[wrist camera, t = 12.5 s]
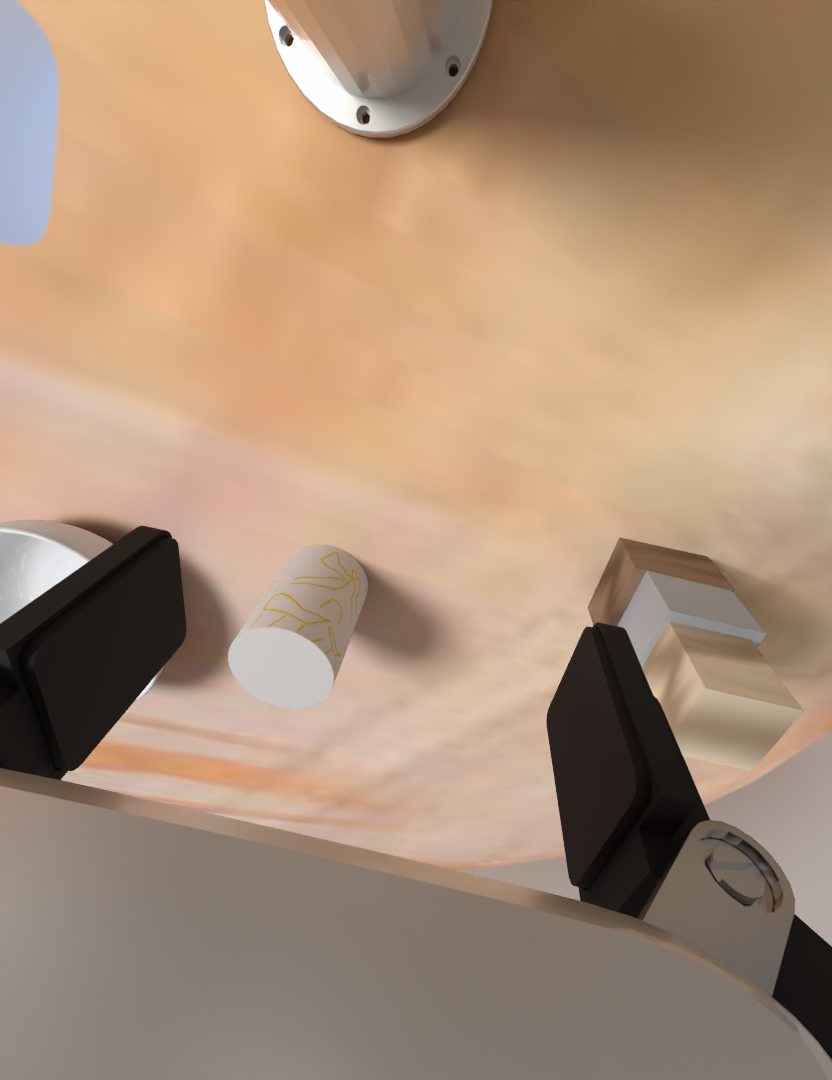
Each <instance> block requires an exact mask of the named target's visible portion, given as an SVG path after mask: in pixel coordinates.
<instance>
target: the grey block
mask: <svg viewBox="0 0 832 1080" xmlns="http://www.w3.org/2000/svg"><path fill="white" fill-rule="evenodd" d="M668 621H670V622H675V623H679V624H684V625H688V626H693V627H697V628H701V629H706V630H710V631H715V632H719V633H724V634H728V635H732V636H737V637H741V638H746V639H750V640H751V641H752V643H753V644H754V645H755V647H756V648H757V646H758V645H759V644H760V642H761V641H762V640H763V638H764V637H765V636H766V632H765V631H764V630H763V629H762V627H761V626H760V625H759V624H758V622H757V621H756V620H755V619H754V618H753V616H752V615H751V614H750V613H749V611H748V610H747V609H746V608H745V607H744V605H743V604H742V603H741V602H740V600H739V599H738V598H737V597H736V595H735V594H734V593H733V592H732V591H731V590H726V589H722V588H718V587H714V586H710V585H705V584H701V583H697V582H693V581H689V580H684V579H680V578H676V577H672V576H667V575H663V574H659V573H655V572H651V571H646V573H645V575H644V577H643V579H642V581H641V582H640V584H639V586H638V588H637V590H636V592H635V594H634V596H633V597H632V599H631V601H630V603H629V605H628V607H627V609H626V611H625V612H624V614H623V616H622V618H621V620H620V622H619V624H618V626H619V627H623V628H625V630H626V631H627V633H628V636H629V638H630V640H631V643H632V645H633V648H634V650H635V652H636V655H637V657H638V660H639V662H640V664H641V667H642V666H643V664H644V663H645V661H646V659H647V658H648V656H649V654H650V652H651V651H652V649H653V647H654V646H655V644H656V642H657V640H658V639H659V637H660V635H661V633H662V632H663V630H664V628H665V627H666V625H667V623H668Z"/></svg>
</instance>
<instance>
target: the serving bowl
mask: <svg viewBox="0 0 832 1080" xmlns="http://www.w3.org/2000/svg"><path fill="white" fill-rule="evenodd" d="M112 545H113V543H111V542H109V541H108V540H106V539H104V538H102V537H100V536H98V535H96V534H94V533H92V532H89V531H87V530H84V529H81V528H78V527H75V526H72V525H68V524H64V523H59V522H53V521H45V520H18V521H10V522H5V523H0V623H2V622H3V621H5V620H6V619H8V618H9V617H10V616H12V615H13V614H15V613H16V612H18V611H19V610H20V609H22V608H23V607H25V606H26V605H27V604H29V603H30V602H32V601H33V600H35V599H36V598H37V597H39V596H40V595H42V594H43V593H45V592H46V591H47V590H49V589H50V588H52V587H53V586H55V585H56V584H57V583H59V582H60V581H62V580H63V579H65V578H66V577H67V576H69V575H70V574H72V573H73V572H75V571H76V570H77V569H79V568H80V567H82V566H83V565H84V564H86V563H87V562H89V561H90V560H92V559H93V558H94V557H96V556H97V555H99V554H100V553H102V552H103V551H104V550H106V549H107V548H109V547H110V546H112ZM164 666H165V665H164ZM164 666H163V667H162V669H161V670H160V671H159V672H158V673H157V675H156V676H155V677H154V678H153V679H152V681H151V682H150V683H149V684H148V685H147V686H146V688H145V689H144V690H143V691H142V692H141V694H140V695H139V696H138V697H137V698H136V700H138V699H140V698H141V697H143V696H144V695H145V694H146V693H148V692H149V690H150V689H151V688H152V687H153V685H154V684H155V682H156V681H157V679H158V677H159V676H160V674H161V672H162V670H163V668H164ZM136 700H135V701H136Z"/></svg>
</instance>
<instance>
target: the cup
mask: <svg viewBox="0 0 832 1080" xmlns="http://www.w3.org/2000/svg"><path fill="white" fill-rule="evenodd" d="M367 593H368V579H367V576H366V573H365V571H364V569H363V568H362V566H361V565H360V563H359V562H358V561H357V560H356V559H355V558H354V557H352V556H351V555H350V554H348V553H347V552H345V551H343V550H341V549H339V548H336V547H332V546H327V545H313V546H309V547H306V548H303V549H301V550H300V551H298V552H297V553H296V554H295V555H294V556H293V557H292V558H291V560H290V561H289V562H288V564H287V565H286V567H285V568H284V570H283V571H282V572H281V574H280V575H279V577H278V578H277V580H276V581H275V582H274V584H273V585H272V587H271V588H270V590H269V591H268V592H267V594H266V595H265V597H264V598H263V600H262V601H261V602H260V604H259V605H258V607H257V608H256V610H255V611H254V612H253V614H252V615H251V617H250V618H249V620H248V621H247V622H246V624H245V625H244V627H243V628H242V630H241V631H240V632H239V634H238V635H237V637H236V638H235V640H234V641H233V642H232V644H231V646H230V648H229V652H228V663H229V667H230V670H231V672H232V674H233V676H234V678H235V679H236V681H237V682H238V683H239V684H240V685H241V687H242V688H243V689H245V690H246V691H247V692H248V693H249V694H251V695H252V696H254V697H255V698H257V699H259V700H261V701H263V702H265V703H267V704H270V705H273V706H276V707H280V708H286V709H303V708H308V707H311V706H314V705H316V704H318V703H320V702H322V701H323V700H324V699H325V698H326V697H327V696H328V695H329V693H330V692H331V690H332V687H333V685H334V682H335V679H336V677H337V674H338V671H339V669H340V666H341V663H342V660H343V658H344V655H345V652H346V650H347V647H348V644H349V642H350V639H351V636H352V634H353V631H354V628H355V626H356V623H357V620H358V618H359V615H360V612H361V610H362V607H363V604H364V602H365V599H366V596H367Z"/></svg>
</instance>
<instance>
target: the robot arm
mask: <svg viewBox="0 0 832 1080" xmlns="http://www.w3.org/2000/svg"><path fill="white" fill-rule="evenodd" d="M492 3H493V0H264V4H265V9H266V15H267V20H268V25H269V28H270V31H271V34H272V37H273V40H274V43H275V46H276V49H277V52H278V54H279V56H280V58H281V60H282V62H283V64H284V66H285V68H286V70H287V72H288V74H289V76H290V77H291V79H292V80H293V82H294V83H295V84H296V86H297V87H298V89H299V90H300V92H301V93H302V94H303V96H304V97H305V98H306V99H307V100H308V101H309V102H310V104H311V105H312V106H313V107H314V108H315V109H316V110H317V111H318V112H320V113H321V114H322V115H323V116H324V117H326V118H327V119H328V120H329V121H331V122H332V123H333V124H335V125H337V126H339V127H341V128H343V129H345V130H346V131H348V132H350V133H353V134H357V135H361V136H365V137H369V138H390V137H394V136H398V135H402V134H406V133H409V132H411V131H413V130H415V129H417V128H419V127H421V126H423V125H425V124H426V123H428V122H429V121H430V120H432V119H433V118H434V117H435V116H436V115H438V114H439V113H440V112H441V111H442V110H444V109H445V108H446V106H447V105H448V104H449V103H450V102H451V100H452V99H453V98H454V97H455V96H456V94H457V93H458V92H459V91H460V89H461V88H462V86H463V84H464V83H465V81H466V79H467V77H468V76H469V74H470V72H471V71H472V69H473V67H474V65H475V62H476V60H477V57H478V55H479V52H480V50H481V47H482V45H483V42H484V40H485V36H486V31H487V27H488V23H489V19H490V15H491V11H492ZM290 38H294V40H293V43H292V45H291V46H290V47H288V41H289V39H290ZM452 67H456V68H457V69H458V73H457V75H456V76H454V77H452V76H450V74H449V71H450V69H451V68H452ZM365 115H369V116H370V121H369V123H368V124H364V123H363V118H364V116H365ZM185 636H186V620H185V610H184V599H183V589H182V579H181V569H180V559H179V548H178V543H177V541H176V540H175V539H172V536H171V534H170V533H169V532H168V531H165V530H160V529H156V528H151V527H146V526H140V527H138V528H136V529H134V530H133V531H132V532H130V533H129V534H127V535H126V536H124V537H123V538H122V539H120V540H119V541H117V542H116V543H114V544H113V545H112V546H110V547H109V548H107V549H106V550H104V551H103V552H102V553H100V554H99V555H97V556H96V557H94V558H93V559H92V560H90V561H89V562H87V563H86V564H84V565H83V566H82V567H80V568H79V569H77V570H76V571H75V572H73V573H72V574H70V575H69V576H67V577H66V578H65V579H63V580H62V581H60V582H59V583H57V584H56V585H55V586H53V587H52V588H50V589H49V590H47V591H46V592H45V593H43V594H42V595H40V596H39V597H37V598H36V599H35V600H33V601H32V602H30V603H29V604H27V605H26V606H25V607H23V608H22V609H20V610H19V611H18V612H16V613H15V614H13V615H12V616H10V617H9V618H8V619H6V620H5V621H3V622H2V623H0V1080H832V947H831V946H830V945H829V944H828V943H827V942H826V941H824V940H823V939H822V938H821V937H820V936H819V935H817V933H815V932H814V931H813V930H812V929H811V928H809V926H807V925H806V924H805V923H804V922H803V921H802V920H801V919H800V918H798V917H797V916H796V915H795V914H794V913H795V898H794V895H793V892H792V888H791V885H790V883H789V881H788V879H787V877H786V876H785V874H784V872H783V870H782V869H781V867H780V866H779V865H778V863H777V862H776V861H775V860H774V858H773V857H772V856H771V855H770V854H769V852H768V851H766V850H765V849H764V848H763V847H762V846H761V845H760V844H759V843H758V842H757V841H755V840H754V839H753V838H752V837H750V836H749V835H747V834H746V833H744V832H743V831H741V830H739V829H738V828H736V827H734V826H731V825H729V824H726V823H724V822H720V821H713V820H710V819H709V817H708V814H707V812H706V809H705V807H704V805H703V802H702V800H701V798H700V795H699V793H698V791H697V788H696V786H695V784H694V781H693V779H692V776H691V774H690V772H689V769H688V767H687V765H686V762H685V760H684V758H683V755H682V753H681V751H680V748H679V746H678V744H677V741H676V739H675V737H674V734H673V732H672V729H671V727H670V725H669V722H668V720H667V718H666V715H665V713H664V711H663V708H662V706H661V704H660V702H659V701H658V699H657V698H656V697H655V696H653V693H652V691H651V688H650V686H649V684H648V681H647V679H646V676H645V674H644V672H643V669H642V667H641V664H640V662H639V660H638V657H637V655H636V652H635V650H634V648H633V645H632V643H631V640H630V638H629V636H628V633H627V631H626V630H625V628H623V627H619V626H614V625H609V624H604V623H600V622H597V623H595V624H594V626H593V627H586V628H585V629H584V631H583V633H582V635H581V637H580V639H579V642H578V644H577V646H576V648H575V651H574V653H573V655H572V657H571V660H570V662H569V664H568V666H567V669H566V671H565V673H564V675H563V677H562V680H561V682H560V684H559V686H558V689H557V691H556V693H555V695H554V698H553V700H552V702H551V704H550V707H549V709H548V713H547V730H548V737H549V744H550V751H551V758H552V765H553V772H554V778H555V785H556V792H557V799H558V806H559V813H560V819H561V826H562V833H563V840H564V847H565V854H566V860H567V867H568V874H569V879H570V881H571V884H572V885H573V886H578V887H579V893H580V900H581V901H578V900H574V899H570V898H566V897H562V896H558V895H554V894H550V893H547V892H543V891H539V890H535V889H531V888H526V887H523V886H519V885H515V884H511V883H507V882H503V881H499V880H495V879H491V878H487V877H482V876H478V875H474V874H469V873H465V872H461V871H457V870H452V869H448V868H444V867H440V866H435V865H431V864H427V863H423V862H418V861H414V860H410V859H405V858H401V857H397V856H393V855H388V854H384V853H380V852H376V851H371V850H367V849H363V848H358V847H354V846H350V845H345V844H341V843H337V842H332V841H328V840H324V839H319V838H315V837H311V836H306V835H302V834H297V833H293V832H289V831H284V830H280V829H276V828H271V827H267V826H262V825H258V824H254V823H249V822H245V821H240V820H236V819H232V818H227V817H223V816H218V815H214V814H210V813H205V812H201V811H196V810H192V809H188V808H183V807H179V806H174V805H170V804H165V803H161V802H156V801H152V800H147V799H143V798H138V797H134V796H129V795H125V794H120V793H116V792H111V791H107V790H102V789H98V788H93V787H89V786H84V785H80V784H75V783H71V782H66V781H62V780H61V779H62V777H63V776H64V775H65V774H66V773H67V772H68V771H73V770H75V769H77V768H78V767H79V766H80V765H81V764H82V763H83V762H84V761H85V759H86V758H87V757H88V756H89V755H90V753H91V752H92V751H93V750H94V749H95V747H96V746H97V745H98V744H99V743H100V741H101V740H102V739H103V738H104V737H105V735H106V734H107V733H108V732H109V731H110V729H111V728H112V727H113V726H114V725H115V724H116V722H117V721H118V720H119V719H120V718H121V716H122V715H123V714H124V713H125V712H126V710H127V709H128V708H129V707H130V706H131V704H132V703H133V702H134V701H135V700H136V698H137V697H138V696H139V695H140V694H141V692H142V691H143V690H144V689H145V688H146V686H147V685H148V684H149V683H150V682H151V681H152V679H153V678H154V677H155V676H156V675H157V673H158V672H159V671H160V670H161V669H162V667H163V666H164V665H165V664H166V663H167V661H168V660H169V659H170V658H171V657H172V655H173V654H174V653H175V652H176V651H177V649H178V648H179V647H180V646H181V644H182V643H183V641H184V639H185Z"/></svg>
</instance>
